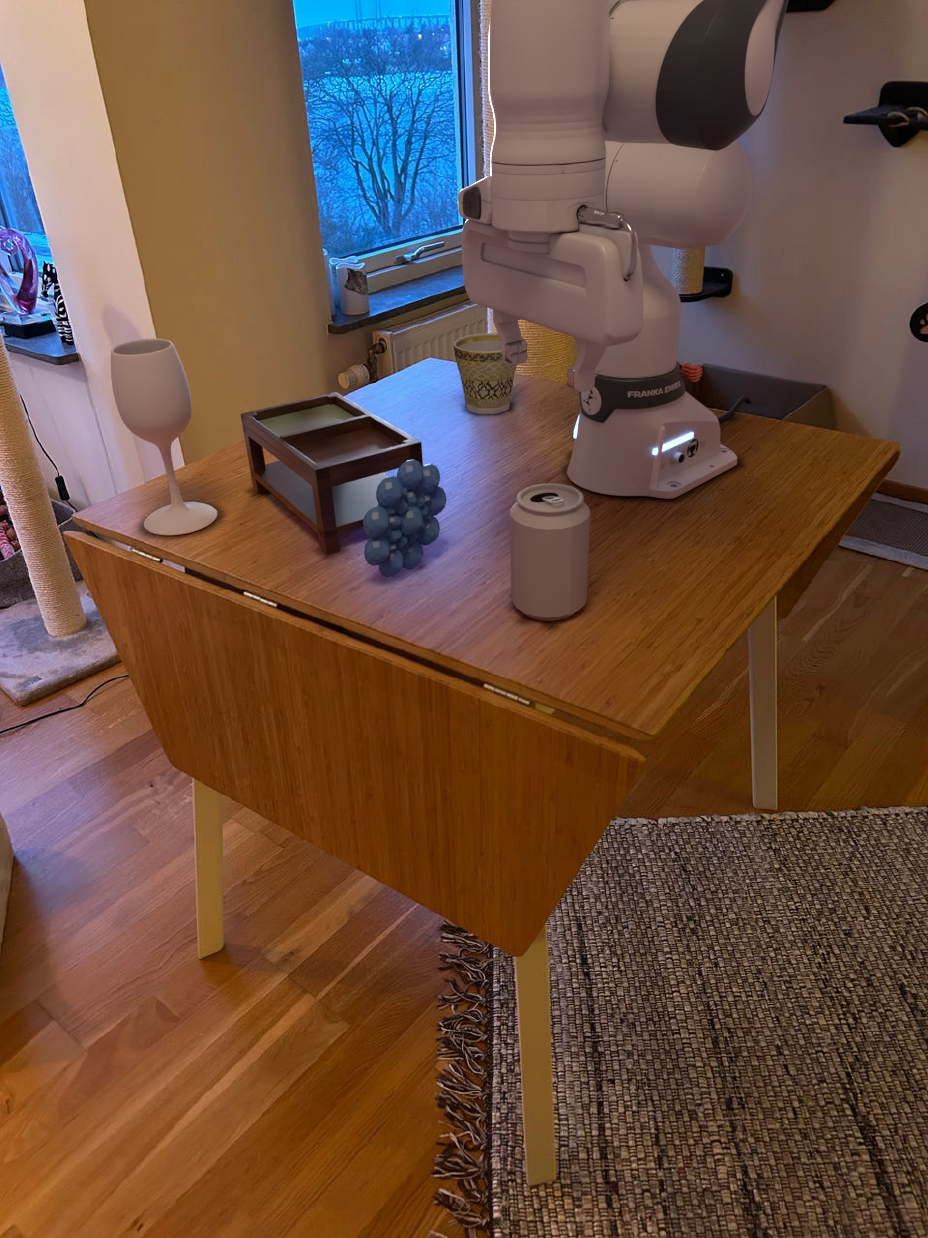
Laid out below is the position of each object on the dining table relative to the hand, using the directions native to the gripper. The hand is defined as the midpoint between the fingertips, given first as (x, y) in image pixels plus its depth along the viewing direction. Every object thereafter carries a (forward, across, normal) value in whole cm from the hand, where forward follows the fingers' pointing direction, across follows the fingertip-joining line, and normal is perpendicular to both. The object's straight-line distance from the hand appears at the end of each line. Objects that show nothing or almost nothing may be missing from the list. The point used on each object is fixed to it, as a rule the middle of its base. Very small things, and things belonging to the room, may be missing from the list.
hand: (546, 375), depth 79 cm
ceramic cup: (+23, +52, -29) cm, 64 cm away
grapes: (+23, +16, +7) cm, 29 cm away
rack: (+23, +34, +7) cm, 42 cm away
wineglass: (+23, +42, +24) cm, 53 cm away
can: (+24, 0, 0) cm, 24 cm away
